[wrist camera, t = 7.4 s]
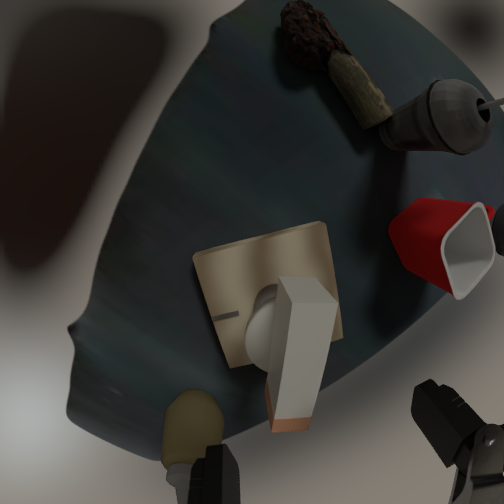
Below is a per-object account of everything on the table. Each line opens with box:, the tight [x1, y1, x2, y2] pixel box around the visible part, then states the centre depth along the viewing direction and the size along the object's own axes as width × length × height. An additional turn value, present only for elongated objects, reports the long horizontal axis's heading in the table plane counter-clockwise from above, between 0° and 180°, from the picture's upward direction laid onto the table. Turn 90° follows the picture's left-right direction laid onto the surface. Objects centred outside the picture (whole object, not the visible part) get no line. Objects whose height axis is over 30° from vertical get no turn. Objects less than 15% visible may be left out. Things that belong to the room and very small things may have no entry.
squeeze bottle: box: [161, 389, 225, 504], centre depth 26 cm, size 8×8×18 cm
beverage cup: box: [378, 79, 504, 155], centre depth 19 cm, size 7×7×20 cm
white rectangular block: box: [245, 276, 338, 432], centre depth 20 cm, size 11×7×6 cm, turn 176°
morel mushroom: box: [280, 0, 394, 130], centre depth 24 cm, size 18×7×6 cm, turn 35°
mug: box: [388, 197, 496, 300], centre depth 26 cm, size 12×8×11 cm
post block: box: [193, 221, 343, 368], centre depth 27 cm, size 14×14×9 cm
